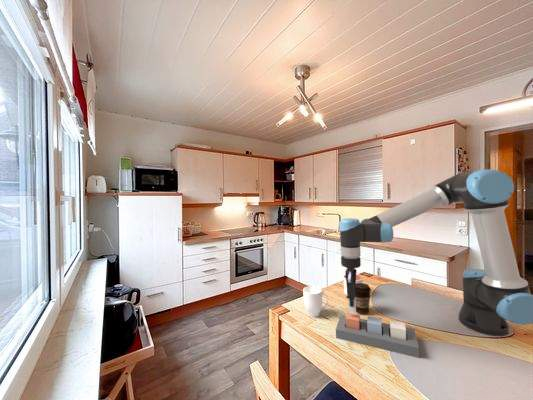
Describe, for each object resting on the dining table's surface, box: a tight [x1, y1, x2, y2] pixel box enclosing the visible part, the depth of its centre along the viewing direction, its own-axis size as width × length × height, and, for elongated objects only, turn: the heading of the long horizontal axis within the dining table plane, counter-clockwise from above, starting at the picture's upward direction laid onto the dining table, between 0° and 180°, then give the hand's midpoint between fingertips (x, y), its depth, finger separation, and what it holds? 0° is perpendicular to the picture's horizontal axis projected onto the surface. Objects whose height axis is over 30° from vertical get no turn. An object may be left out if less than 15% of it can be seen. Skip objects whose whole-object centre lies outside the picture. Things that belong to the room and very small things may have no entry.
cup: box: [343, 274, 363, 296], centre depth 128 cm, size 10×10×10 cm
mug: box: [302, 285, 329, 318], centre depth 109 cm, size 12×9×12 cm
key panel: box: [335, 314, 420, 359], centre depth 90 cm, size 28×12×4 cm, turn 63°
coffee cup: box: [355, 283, 372, 315], centre depth 109 cm, size 9×8×13 cm
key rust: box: [345, 311, 361, 330], centre depth 93 cm, size 5×5×5 cm
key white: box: [389, 320, 406, 340], centre depth 86 cm, size 5×5×5 cm
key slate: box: [366, 315, 383, 335], centre depth 90 cm, size 5×5×5 cm
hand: (352, 312), depth 93 cm, fingers closed
